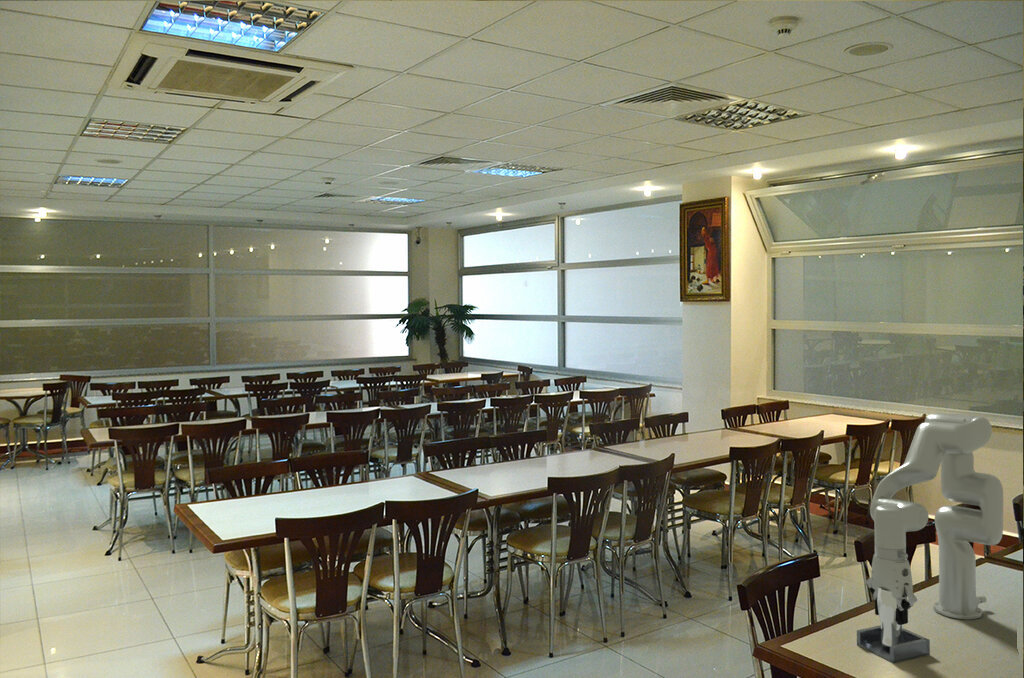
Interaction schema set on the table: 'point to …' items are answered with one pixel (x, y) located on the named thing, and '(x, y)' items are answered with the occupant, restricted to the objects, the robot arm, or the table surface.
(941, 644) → the table surface
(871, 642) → the grey tray
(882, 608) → the beer glass
